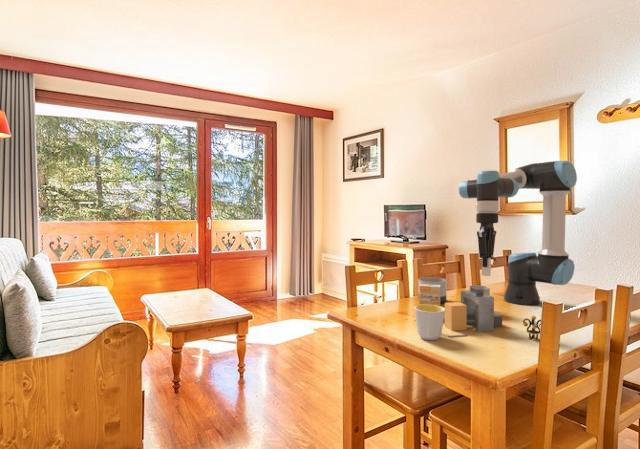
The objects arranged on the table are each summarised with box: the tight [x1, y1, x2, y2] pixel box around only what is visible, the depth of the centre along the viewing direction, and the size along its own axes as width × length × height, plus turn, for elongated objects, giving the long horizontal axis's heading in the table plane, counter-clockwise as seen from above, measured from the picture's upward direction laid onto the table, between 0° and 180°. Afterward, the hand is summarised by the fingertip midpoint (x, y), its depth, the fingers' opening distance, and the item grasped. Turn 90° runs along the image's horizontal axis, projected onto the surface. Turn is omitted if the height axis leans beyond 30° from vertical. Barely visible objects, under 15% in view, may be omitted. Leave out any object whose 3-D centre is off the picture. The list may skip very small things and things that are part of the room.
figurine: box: [522, 315, 542, 342], centre depth 129 cm, size 5×5×8 cm
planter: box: [417, 276, 447, 304], centre depth 183 cm, size 13×13×10 cm
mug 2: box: [467, 284, 491, 296], centre depth 163 cm, size 12×8×11 cm
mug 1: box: [413, 304, 445, 341], centre depth 133 cm, size 14×10×10 cm
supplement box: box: [418, 284, 441, 306], centre depth 157 cm, size 8×5×13 cm, turn 70°
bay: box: [443, 320, 468, 338], centre depth 141 cm, size 7×18×1 cm, turn 10°
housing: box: [460, 287, 495, 333], centre depth 143 cm, size 6×12×14 cm, turn 10°
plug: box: [444, 301, 503, 331], centre depth 143 cm, size 21×5×9 cm, turn 100°
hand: (486, 275), depth 143 cm, fingers closed
